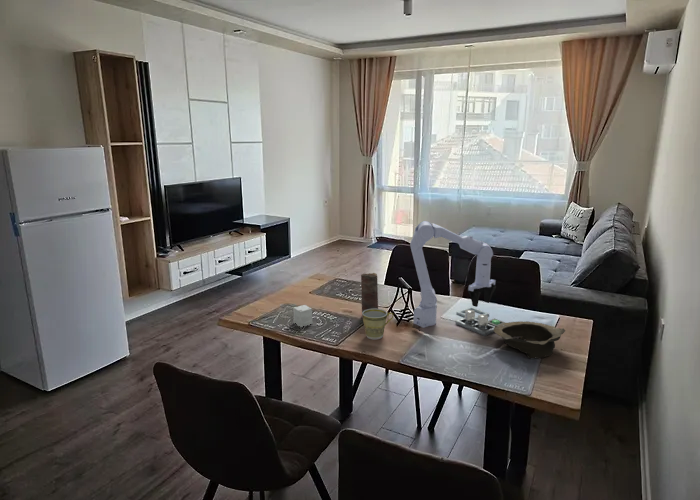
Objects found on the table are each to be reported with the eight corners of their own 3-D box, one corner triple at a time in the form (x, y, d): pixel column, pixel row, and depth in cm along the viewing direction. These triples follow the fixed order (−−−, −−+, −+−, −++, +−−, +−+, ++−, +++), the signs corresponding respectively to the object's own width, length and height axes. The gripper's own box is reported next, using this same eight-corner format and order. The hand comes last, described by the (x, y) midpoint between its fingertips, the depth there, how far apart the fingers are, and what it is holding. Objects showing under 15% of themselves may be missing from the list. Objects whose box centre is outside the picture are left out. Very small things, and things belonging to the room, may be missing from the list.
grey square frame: (474, 322, 196) (474, 318, 196) (456, 315, 204) (456, 311, 204) (488, 317, 202) (489, 313, 201) (470, 310, 210) (471, 306, 209)
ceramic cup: (366, 342, 178) (366, 319, 176) (359, 332, 188) (359, 309, 185) (397, 338, 182) (398, 315, 179) (388, 329, 191) (389, 306, 189)
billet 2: (482, 332, 184) (483, 318, 183) (475, 329, 187) (475, 315, 186) (489, 330, 186) (490, 316, 185) (482, 327, 189) (482, 313, 188)
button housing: (497, 330, 188) (497, 326, 188) (485, 326, 193) (485, 321, 192) (506, 327, 192) (506, 322, 191) (494, 322, 196) (494, 318, 196)
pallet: (484, 338, 181) (484, 332, 181) (455, 326, 193) (455, 320, 193) (497, 333, 186) (497, 327, 185) (468, 321, 198) (468, 316, 197)
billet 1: (470, 327, 189) (470, 313, 188) (462, 324, 192) (463, 311, 191) (476, 325, 192) (477, 311, 190) (468, 322, 195) (469, 308, 193)
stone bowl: (558, 369, 156) (558, 344, 154) (485, 357, 170) (484, 333, 168) (568, 341, 177) (568, 318, 175) (502, 332, 190) (502, 311, 188)
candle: (358, 318, 203) (358, 275, 198) (364, 312, 209) (364, 270, 204) (375, 320, 200) (375, 276, 195) (380, 314, 207) (380, 272, 202)
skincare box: (305, 320, 202) (305, 304, 200) (312, 324, 197) (312, 308, 195) (293, 323, 198) (292, 307, 196) (300, 327, 193) (299, 311, 191)
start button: (496, 328, 190) (496, 323, 190) (490, 326, 193) (490, 320, 192) (500, 326, 192) (501, 321, 191) (494, 324, 194) (495, 319, 194)
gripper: (479, 278, 180) (477, 310, 183) (502, 272, 188) (500, 303, 191) (465, 274, 186) (463, 305, 189) (488, 268, 194) (486, 298, 197)
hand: (480, 304), depth 191 cm, fingers open, 7 cm apart
